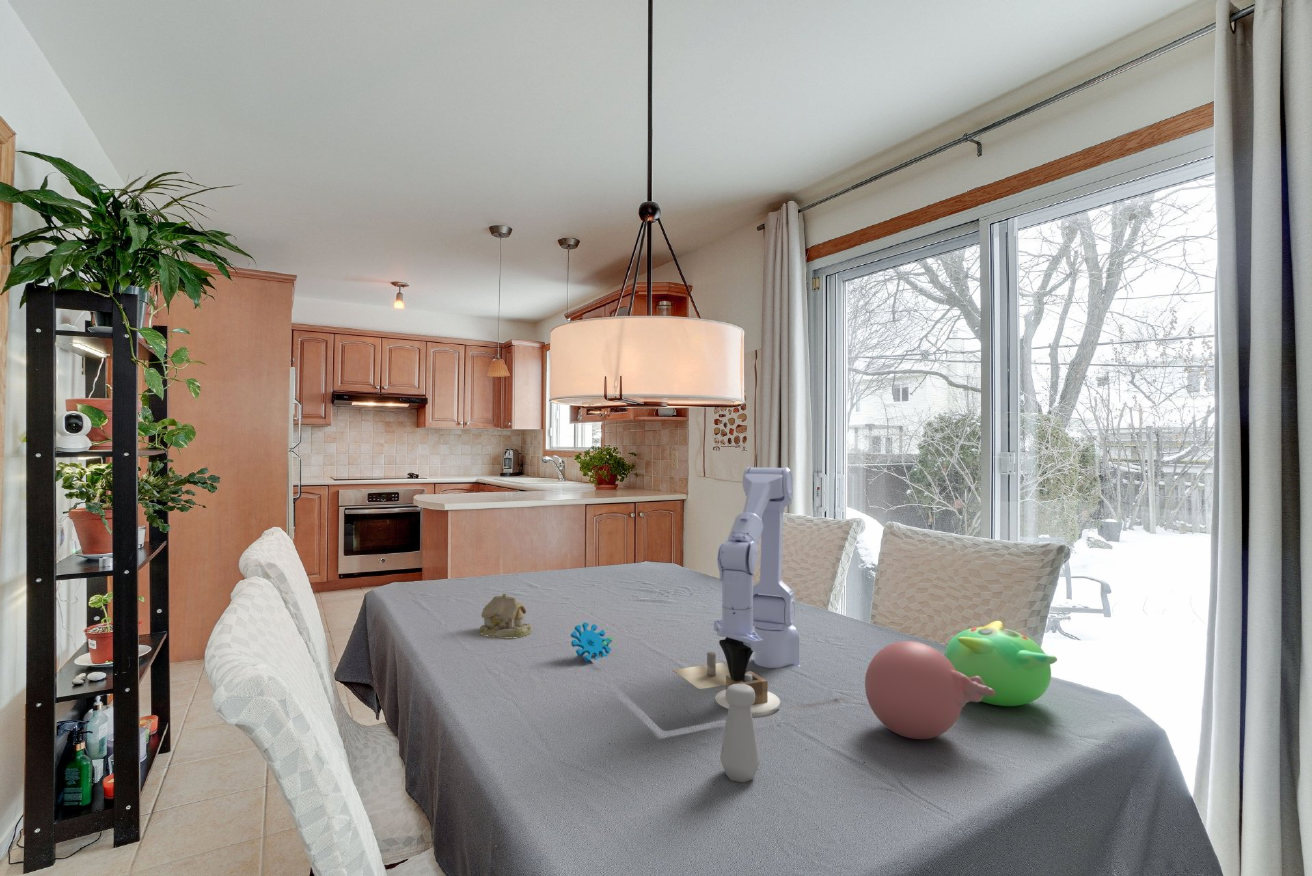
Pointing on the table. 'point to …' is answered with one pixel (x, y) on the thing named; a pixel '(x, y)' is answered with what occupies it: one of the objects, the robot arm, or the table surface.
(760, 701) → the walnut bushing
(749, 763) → the salt shaker
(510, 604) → the ceramic model
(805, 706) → the table surface
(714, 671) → the birch stand
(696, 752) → the table surface
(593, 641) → the gear
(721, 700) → the cream plate
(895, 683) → the balloon
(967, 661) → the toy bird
